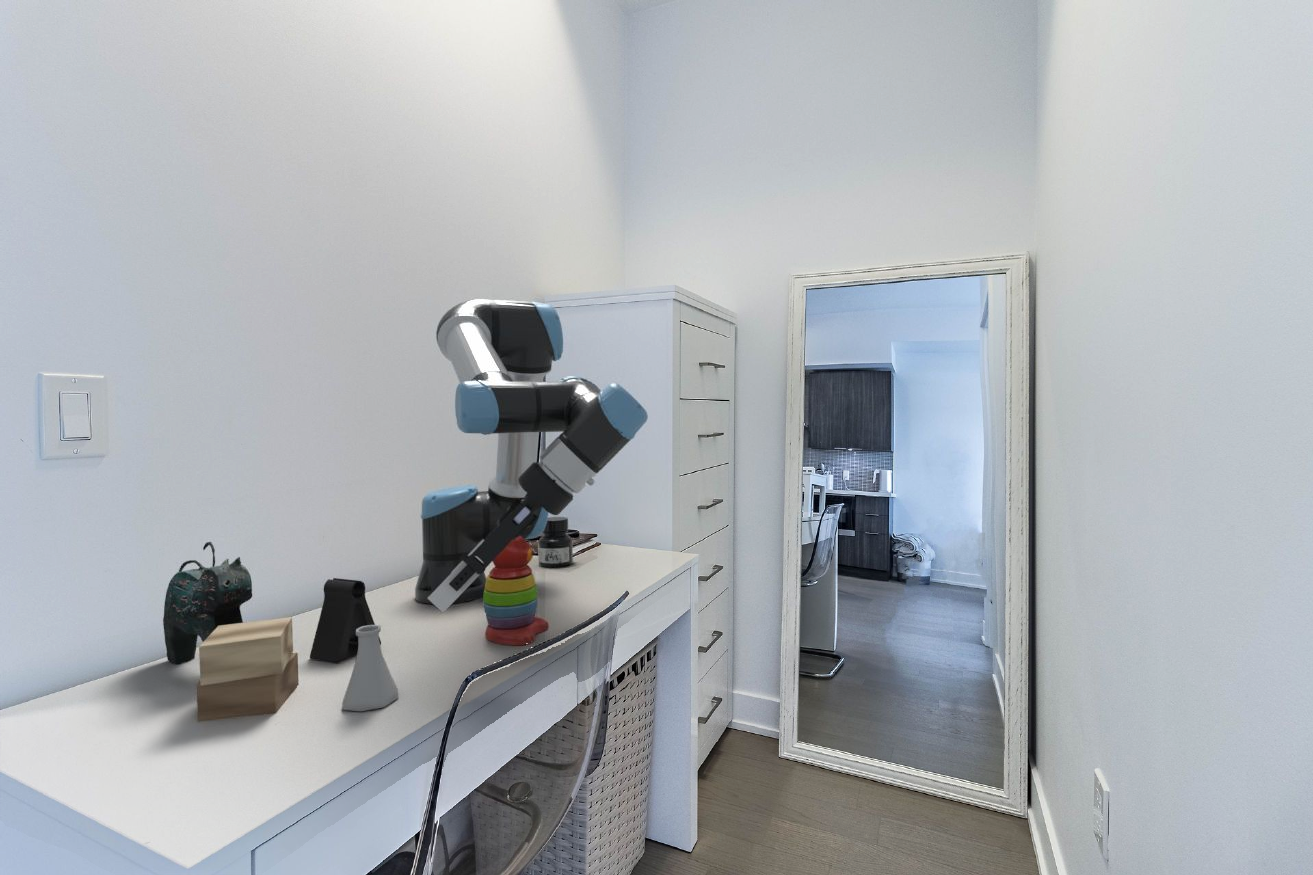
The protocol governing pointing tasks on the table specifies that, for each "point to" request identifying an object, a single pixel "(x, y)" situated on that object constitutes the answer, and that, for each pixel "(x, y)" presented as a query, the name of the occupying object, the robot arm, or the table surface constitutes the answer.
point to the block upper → (246, 650)
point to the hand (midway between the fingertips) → (447, 590)
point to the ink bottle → (555, 544)
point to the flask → (369, 674)
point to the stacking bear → (512, 597)
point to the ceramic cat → (202, 604)
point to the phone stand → (341, 620)
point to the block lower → (247, 695)
